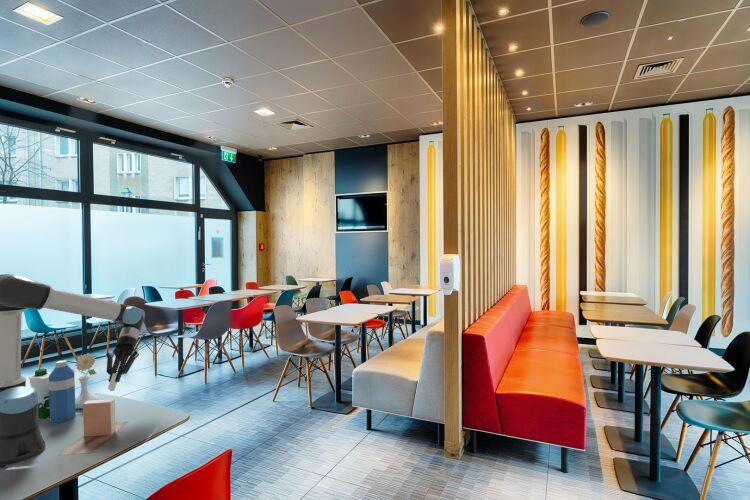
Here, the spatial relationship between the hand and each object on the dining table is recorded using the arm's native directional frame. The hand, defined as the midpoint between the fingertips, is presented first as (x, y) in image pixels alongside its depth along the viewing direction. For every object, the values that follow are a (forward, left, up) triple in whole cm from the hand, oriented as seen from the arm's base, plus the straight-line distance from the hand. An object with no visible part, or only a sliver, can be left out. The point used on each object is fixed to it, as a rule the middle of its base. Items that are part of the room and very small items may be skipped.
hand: (111, 389), depth 167 cm
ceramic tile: (0, -9, -15) cm, 17 cm away
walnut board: (0, -11, -15) cm, 19 cm away
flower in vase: (-23, +23, -16) cm, 36 cm away
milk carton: (-35, +15, -16) cm, 41 cm away
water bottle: (-25, +10, -16) cm, 31 cm away
